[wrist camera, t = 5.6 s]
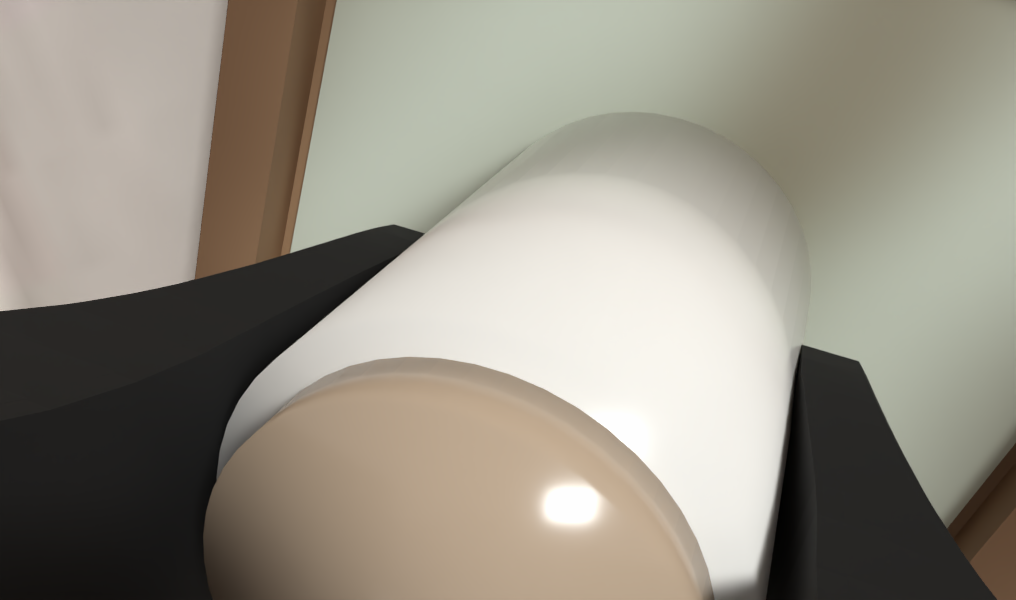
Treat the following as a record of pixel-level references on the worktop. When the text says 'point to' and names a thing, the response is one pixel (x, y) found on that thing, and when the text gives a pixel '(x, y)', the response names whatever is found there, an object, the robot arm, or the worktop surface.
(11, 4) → the worktop surface
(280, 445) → the salt cellar
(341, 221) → the rest tray
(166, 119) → the worktop surface
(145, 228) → the worktop surface
